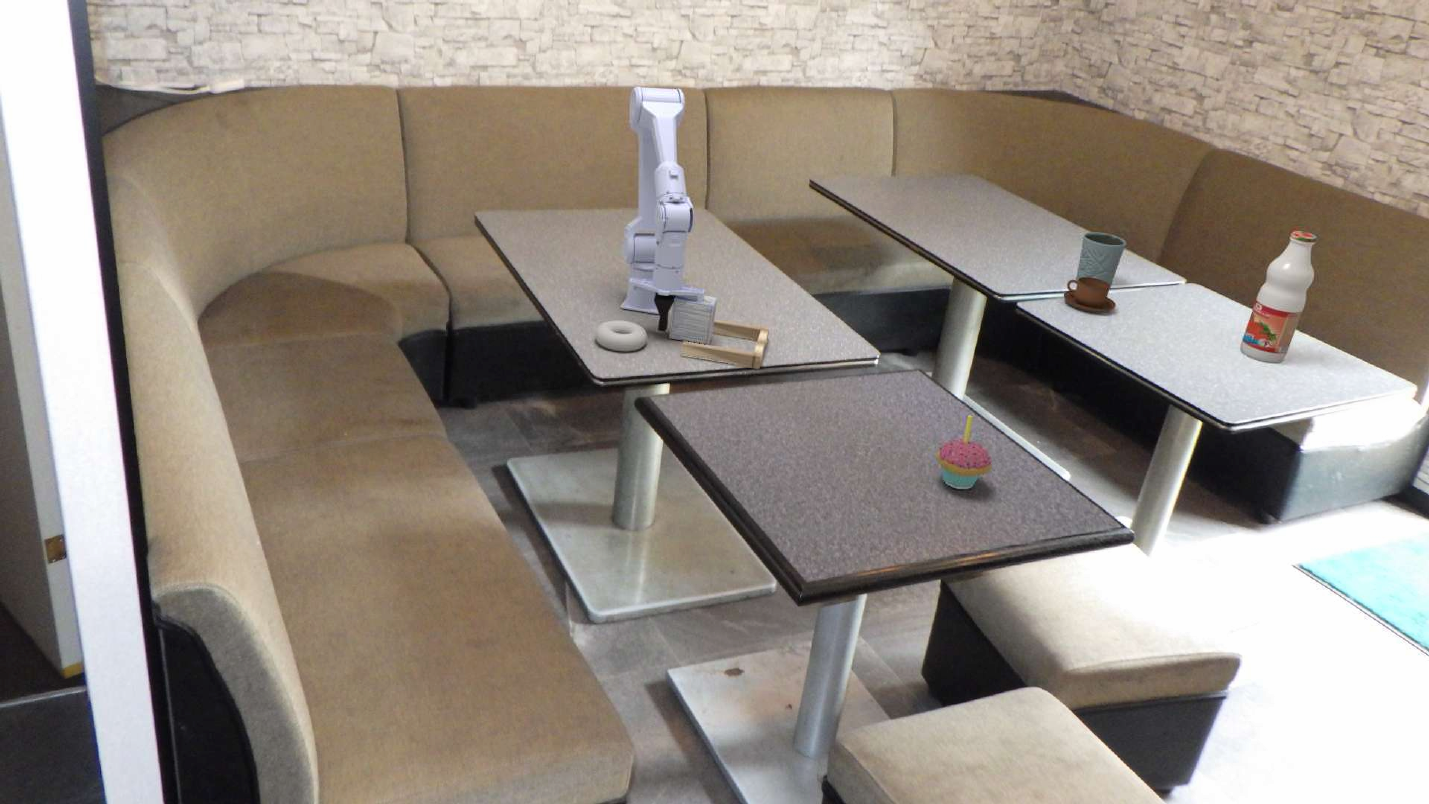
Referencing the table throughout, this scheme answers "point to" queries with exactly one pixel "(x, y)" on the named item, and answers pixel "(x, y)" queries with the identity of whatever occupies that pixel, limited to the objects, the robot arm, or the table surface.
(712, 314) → the medicine box
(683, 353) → the wooden u-shaped block
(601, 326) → the donut
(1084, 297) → the cup and saucer
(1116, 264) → the grey green embossed tumbler
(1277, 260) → the fruit juice
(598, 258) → the table surface
